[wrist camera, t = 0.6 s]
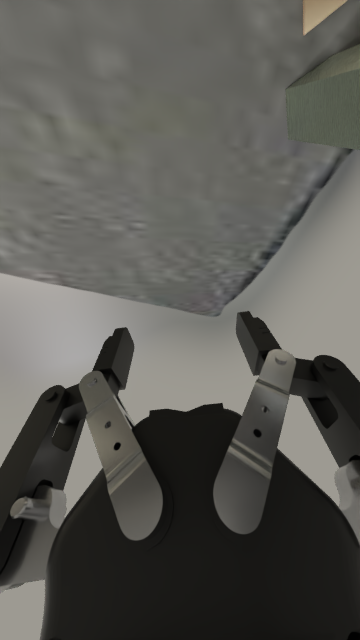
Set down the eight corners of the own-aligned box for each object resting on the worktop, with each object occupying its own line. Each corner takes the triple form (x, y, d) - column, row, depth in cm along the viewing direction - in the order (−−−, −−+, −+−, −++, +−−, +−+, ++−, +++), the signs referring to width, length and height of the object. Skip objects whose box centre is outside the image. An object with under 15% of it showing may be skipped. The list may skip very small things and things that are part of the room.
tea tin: (285, 89, 22) (400, 56, 11) (332, 55, 20) (522, -25, 9) (288, 139, 25) (377, 152, 14) (328, 113, 24) (465, 106, 13)
